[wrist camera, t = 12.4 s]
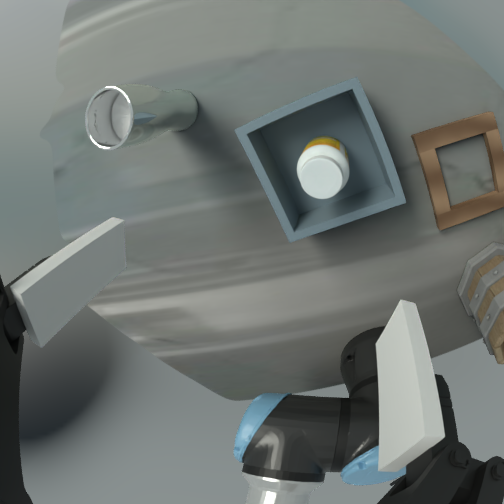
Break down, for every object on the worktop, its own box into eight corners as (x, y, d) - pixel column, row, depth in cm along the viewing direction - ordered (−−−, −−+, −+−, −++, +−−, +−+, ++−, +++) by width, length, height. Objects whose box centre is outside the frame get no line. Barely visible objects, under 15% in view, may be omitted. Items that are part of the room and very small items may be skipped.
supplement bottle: (356, 159, 33) (362, 185, 25) (323, 184, 36) (318, 217, 28) (327, 125, 32) (324, 139, 24) (294, 152, 34) (280, 175, 27)
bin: (394, 186, 34) (406, 202, 28) (296, 220, 40) (289, 242, 34) (351, 83, 30) (356, 76, 24) (251, 126, 35) (234, 129, 29)
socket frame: (508, 200, 29) (512, 203, 28) (437, 227, 34) (439, 230, 33) (489, 111, 25) (493, 112, 24) (410, 135, 30) (413, 136, 29)
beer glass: (206, 89, 34) (139, 85, 22) (196, 138, 38) (130, 158, 25) (162, 83, 35) (87, 83, 22) (154, 129, 39) (81, 147, 26)
